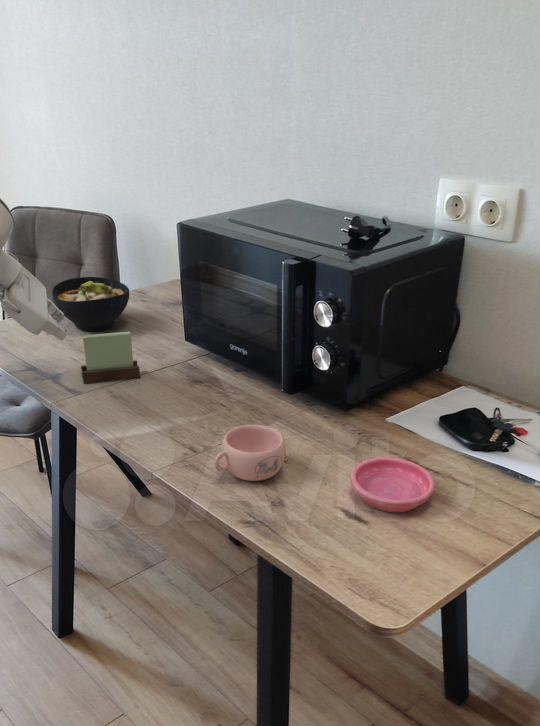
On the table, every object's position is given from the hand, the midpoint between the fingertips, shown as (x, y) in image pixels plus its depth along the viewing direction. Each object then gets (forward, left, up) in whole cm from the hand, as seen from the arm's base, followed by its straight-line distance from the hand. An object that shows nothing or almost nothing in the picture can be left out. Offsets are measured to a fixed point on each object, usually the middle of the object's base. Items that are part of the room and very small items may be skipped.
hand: (63, 327), depth 131 cm
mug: (-5, -47, -12) cm, 49 cm away
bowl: (+25, +20, -12) cm, 34 cm away
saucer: (+3, -68, -12) cm, 69 cm away
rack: (+7, -4, -11) cm, 14 cm away
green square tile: (+7, -4, -11) cm, 14 cm away
